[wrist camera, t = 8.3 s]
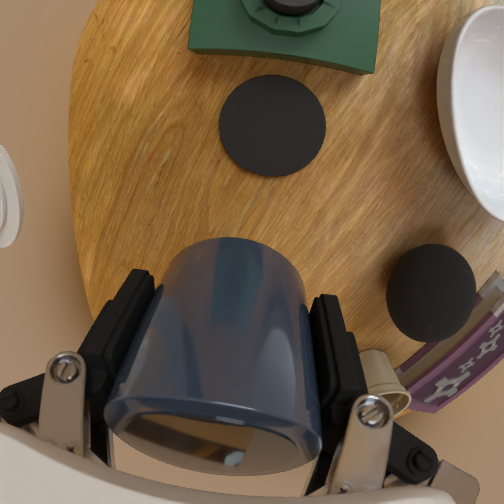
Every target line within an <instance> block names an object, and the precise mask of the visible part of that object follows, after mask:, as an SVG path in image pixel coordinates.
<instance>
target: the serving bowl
mask: <svg viewBox="0 0 504 504" xmlns="http://www.w3.org/2000/svg"><path fill="white" fill-rule="evenodd" d="M437 106H438V114H439V121H440V126H441V131H442V135H443V138H444V142H445V145H446V148H447V151H448V154H449V156H450V159H451V161H452V164H453V166H454V168H455V170H456V172H457V174H458V176H459V177H460V179H461V181H462V182H463V184H464V186H465V187H466V188H467V190H468V191H469V193H470V194H471V195H472V196H473V198H474V199H475V200H476V201H477V202H478V203H479V205H480V206H481V207H482V208H483V209H484V210H485V211H486V212H487V213H488V214H490V215H491V216H493V217H494V218H496V219H498V220H500V221H503V222H504V6H499V5H490V6H485V7H482V8H479V9H477V10H475V11H473V12H472V13H470V14H468V15H467V16H465V17H464V18H463V19H462V20H460V22H459V23H458V24H457V25H456V26H455V27H454V28H453V30H452V31H451V33H450V34H449V36H448V38H447V40H446V42H445V44H444V47H443V50H442V53H441V57H440V61H439V66H438V74H437Z"/></svg>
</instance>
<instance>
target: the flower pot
mask: <svg viewBox="0 0 504 504" xmlns="http://www.w3.org/2000/svg"><path fill="white" fill-rule="evenodd" d="M359 355H360V359H361V363H362V367H363V371H364V375H365V380H366V384H367V388H368V393H369V394H377V395H379V396H381V397H383V398H385V399H386V400H387V401H388V402H389V403H390V405H391V406H392V409H393V411H394V416H396V415H398V414H399V413H401V412H402V411H403V410H405V409H406V408H407V407H408V405H409V404H410V402H411V395H410V394H409V393H408V392H406V391H405V388H404V387H403V386H402V385H401V384H400V382H399V380H398V378H397V376H396V374H395V372H394V370H393V368H392V366H391V364H390V362H389V360H388V358H387V356H386V354H385V353H384V352H381V351H378V350H376V349H371V350H366V351H363V352H360V353H359Z"/></svg>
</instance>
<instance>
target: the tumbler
mask: <svg viewBox="0 0 504 504" xmlns="http://www.w3.org/2000/svg"><path fill="white" fill-rule="evenodd" d="M103 417H104V420H105V422H106V424H107V426H108V427H109V428H110V429H111V431H112V432H113V433H114V434H115V435H116V436H118V437H119V438H120V439H121V440H123V441H124V442H125V443H127V444H128V445H130V446H131V447H133V448H135V449H136V450H138V451H140V452H142V453H144V454H146V455H148V456H150V457H152V458H155V459H157V460H159V461H162V462H165V463H167V464H171V465H174V466H177V467H180V468H184V469H188V470H193V471H198V472H203V473H209V474H217V475H227V476H257V475H267V474H274V473H280V472H284V471H288V470H292V469H295V468H298V467H300V466H303V465H305V464H307V463H309V462H310V461H312V460H314V459H315V458H316V457H317V456H318V455H319V454H320V453H321V451H322V448H323V432H322V421H321V410H320V400H319V391H318V382H317V373H316V364H315V356H314V348H313V341H312V333H311V326H310V318H309V311H308V305H307V298H306V291H305V287H304V283H303V281H302V279H301V276H300V274H299V273H298V271H297V270H296V269H295V267H294V266H293V265H292V264H291V263H290V262H289V261H288V260H287V259H286V258H285V257H284V256H282V255H281V254H280V253H279V252H277V251H275V250H274V249H272V248H270V247H268V246H266V245H264V244H261V243H258V242H255V241H252V240H248V239H243V238H234V237H220V238H213V239H207V240H204V241H200V242H197V243H195V244H193V245H191V246H189V247H187V248H185V249H184V250H182V251H181V252H180V253H179V254H177V255H176V256H175V257H174V258H173V260H172V261H171V262H170V263H169V265H168V267H167V269H166V270H165V272H164V274H163V276H162V278H161V280H160V282H159V284H158V286H157V288H156V290H155V292H154V294H153V296H152V298H151V301H150V303H149V305H148V307H147V309H146V311H145V313H144V315H143V317H142V319H141V322H140V324H139V326H138V328H137V330H136V332H135V335H134V337H133V339H132V341H131V343H130V346H129V348H128V350H127V352H126V355H125V357H124V359H123V362H122V364H121V366H120V369H119V371H118V373H117V376H116V378H115V381H114V383H113V385H112V388H111V390H110V393H109V395H108V398H107V400H106V403H105V405H104V408H103Z"/></svg>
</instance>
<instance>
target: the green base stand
mask: <svg viewBox="0 0 504 504" xmlns="http://www.w3.org/2000/svg"><path fill="white" fill-rule="evenodd" d="M380 3H381V0H319V2H318V3H317V5H316V6H315V7H314V8H313V9H312V10H310V11H308V12H306V13H303V14H296V15H291V14H284V13H281V12H278V11H276V10H274V9H273V8H271V7H270V6H269V5H268V4H267V3H266V2H265V1H264V0H194V4H193V11H192V18H191V25H190V33H189V41H188V49H189V50H191V51H193V52H194V53H196V54H217V55H239V56H253V57H263V58H273V59H281V60H288V61H295V62H301V63H307V64H313V65H318V66H323V67H328V68H333V69H337V70H342V71H346V72H350V73H354V74H358V75H366V74H373V73H374V69H375V61H376V52H377V42H378V32H379V19H380Z"/></svg>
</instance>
